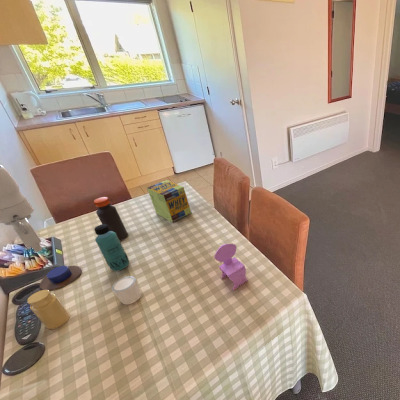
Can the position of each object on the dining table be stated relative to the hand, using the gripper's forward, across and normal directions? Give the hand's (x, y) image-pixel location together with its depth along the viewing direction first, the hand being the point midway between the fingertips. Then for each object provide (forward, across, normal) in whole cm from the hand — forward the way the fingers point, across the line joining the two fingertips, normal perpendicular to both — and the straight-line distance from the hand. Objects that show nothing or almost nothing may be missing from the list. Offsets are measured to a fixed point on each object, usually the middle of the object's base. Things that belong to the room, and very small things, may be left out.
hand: (35, 244), depth 91 cm
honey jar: (+16, -22, +5) cm, 28 cm away
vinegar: (+17, +9, -24) cm, 31 cm away
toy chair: (+15, -54, -39) cm, 68 cm away
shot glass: (+16, -32, -13) cm, 38 cm away
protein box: (+16, +9, -49) cm, 52 cm away
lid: (+16, -1, -1) cm, 16 cm away
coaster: (+16, 0, -1) cm, 17 cm away
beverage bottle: (+16, -13, -16) cm, 27 cm away
